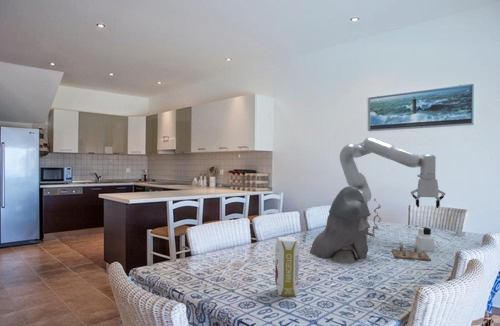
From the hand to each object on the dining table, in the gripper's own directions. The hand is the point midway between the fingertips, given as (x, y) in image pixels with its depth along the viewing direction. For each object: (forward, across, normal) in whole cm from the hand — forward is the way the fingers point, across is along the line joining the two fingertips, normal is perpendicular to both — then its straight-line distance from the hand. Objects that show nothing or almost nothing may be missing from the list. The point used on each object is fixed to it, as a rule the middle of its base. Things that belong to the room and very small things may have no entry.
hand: (427, 207), depth 189 cm
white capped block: (+23, -2, -2) cm, 24 cm away
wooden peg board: (+23, -11, -20) cm, 32 cm away
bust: (+23, -43, -31) cm, 58 cm away
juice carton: (+23, -58, -94) cm, 113 cm away
